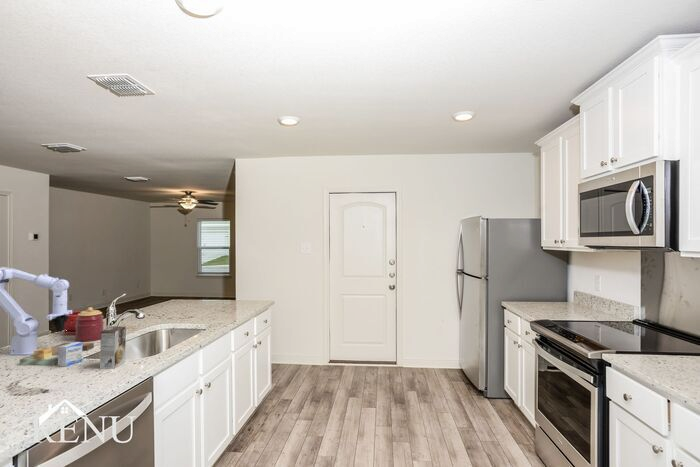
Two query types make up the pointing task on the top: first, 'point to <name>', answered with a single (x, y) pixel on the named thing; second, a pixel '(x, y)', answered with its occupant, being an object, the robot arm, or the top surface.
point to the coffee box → (112, 347)
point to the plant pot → (71, 323)
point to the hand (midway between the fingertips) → (59, 331)
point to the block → (42, 353)
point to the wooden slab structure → (52, 359)
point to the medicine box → (69, 354)
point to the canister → (89, 325)
